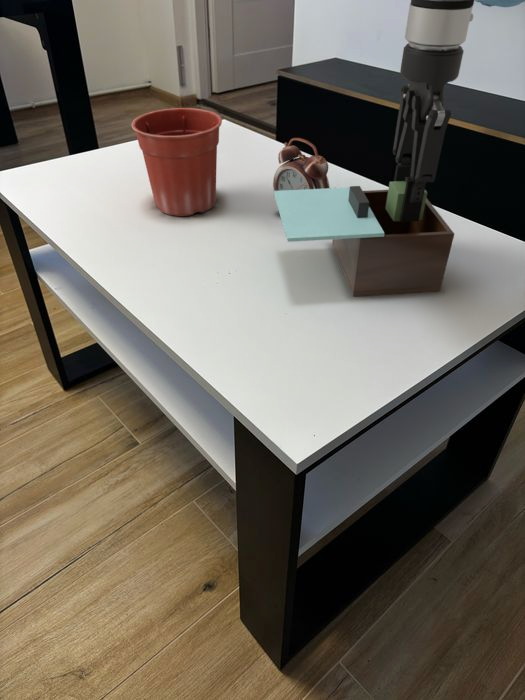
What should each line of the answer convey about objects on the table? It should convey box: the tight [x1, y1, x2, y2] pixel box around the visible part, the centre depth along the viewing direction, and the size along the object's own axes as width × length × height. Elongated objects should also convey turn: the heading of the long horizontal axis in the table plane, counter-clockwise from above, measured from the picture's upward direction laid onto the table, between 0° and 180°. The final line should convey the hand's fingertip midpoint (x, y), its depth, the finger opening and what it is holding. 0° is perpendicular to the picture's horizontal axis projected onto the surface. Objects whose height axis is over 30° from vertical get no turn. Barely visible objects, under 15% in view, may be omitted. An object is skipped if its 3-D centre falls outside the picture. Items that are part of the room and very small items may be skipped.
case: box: [331, 189, 455, 297], centre depth 87 cm, size 16×14×10 cm
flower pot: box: [131, 107, 223, 217], centre depth 104 cm, size 16×16×16 cm
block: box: [386, 180, 428, 221], centre depth 83 cm, size 4×4×4 cm
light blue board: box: [273, 185, 384, 243], centre depth 82 cm, size 16×14×3 cm
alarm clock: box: [272, 137, 331, 192], centre depth 99 cm, size 11×5×15 cm, turn 45°
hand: (404, 212), depth 84 cm, fingers closed on block, 4 cm apart
